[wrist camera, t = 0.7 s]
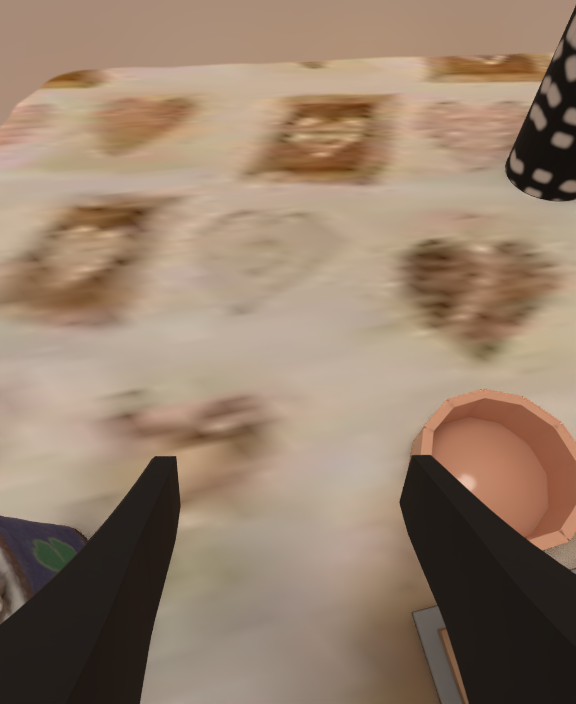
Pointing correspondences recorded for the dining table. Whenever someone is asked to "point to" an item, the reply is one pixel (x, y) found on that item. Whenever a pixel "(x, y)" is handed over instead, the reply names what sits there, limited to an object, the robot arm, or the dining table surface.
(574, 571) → the mat
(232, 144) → the dining table surface
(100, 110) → the dining table surface
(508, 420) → the bowl
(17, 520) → the flask
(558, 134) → the white-spotted black cylinder
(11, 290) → the dining table surface
